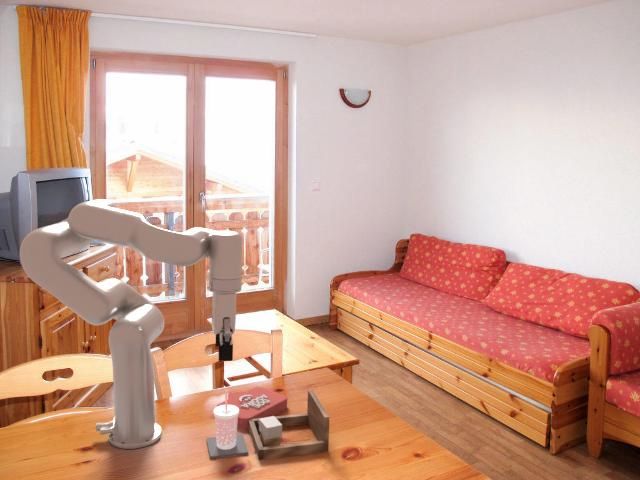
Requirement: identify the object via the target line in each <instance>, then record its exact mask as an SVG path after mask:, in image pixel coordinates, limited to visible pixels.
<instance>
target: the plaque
mask: <svg viewBox="0 0 640 480" xmlns="http://www.w3.org/2000/svg"><path fill="white" fill-rule="evenodd" d="M221 405H225V401H223V402H220V403H218V404H217V405H216V407H218V406H221ZM227 405H234V406H236V407H238V408H239V414H238V421H237V428H241V429H244V430H245V429H248V419H256V418H266V417H271V416H275V415H277V414H279V413H280V412H283V411H284V410H286V409H287V408H288V397H287V396H286V395H284V394H282V393H278V392H277V391H273V390H271V389H268V388H264V387H262V386H256V387H253V388H251V389H248V390H246V391H240V392H239V391H238V392H237V391H235V392H229V393H227Z"/></svg>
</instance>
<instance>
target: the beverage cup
mask: <svg viewBox="0 0 640 480" xmlns="http://www.w3.org/2000/svg"><path fill="white" fill-rule="evenodd" d="M224 393H225V398H224V399H225V405H221V406H218V407H217V406H216V407H215V408H214V409H213V416H214V424H215V437H216V442H217V447H218V448H220V449H225V450H227V449H231V448H234V447H235V445H236V435H237V433H238V427H237V421H238V414H239V408H238V407H236V406H234V405H227V400H228V389H226V390H225V392H224Z"/></svg>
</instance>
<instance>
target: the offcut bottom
mask: <svg viewBox="0 0 640 480" xmlns="http://www.w3.org/2000/svg"><path fill="white" fill-rule="evenodd" d="M259 437H260V440H261V443H262V446H263V447H270V446H279V445H281V437H277V438H272V439H266V438H265V437H264V436H263V435H262V433H261V432H260V435H259Z"/></svg>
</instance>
